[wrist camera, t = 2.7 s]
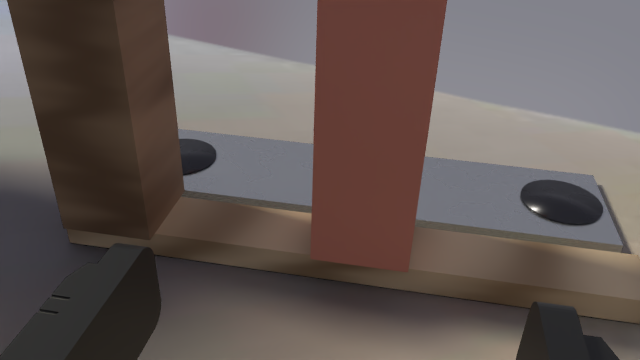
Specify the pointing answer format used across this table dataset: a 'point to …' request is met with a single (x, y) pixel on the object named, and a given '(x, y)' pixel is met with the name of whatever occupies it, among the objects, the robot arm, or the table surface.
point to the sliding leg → (371, 126)
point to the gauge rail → (228, 218)
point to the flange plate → (434, 198)
